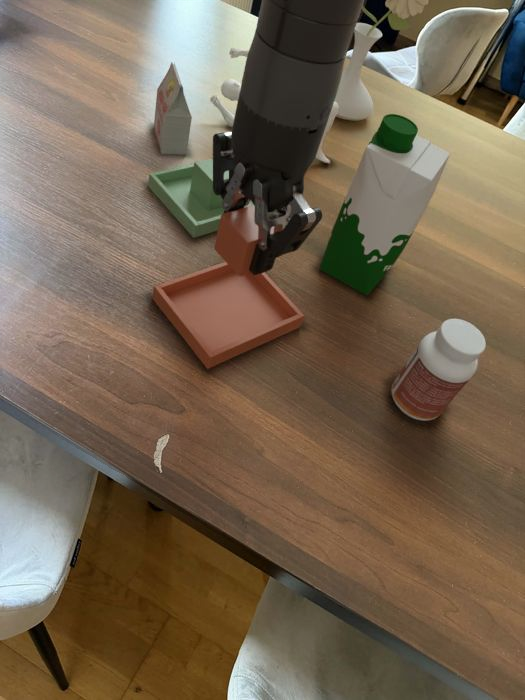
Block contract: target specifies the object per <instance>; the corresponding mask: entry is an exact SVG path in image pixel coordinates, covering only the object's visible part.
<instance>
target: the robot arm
mask: <svg viewBox="0 0 525 700" xmlns="http://www.w3.org/2000/svg"><path fill="white" fill-rule="evenodd" d="M364 2H365V0H261V4H260V8H259V12H258V18H257V23H256V27H255V30H254V35H253V38H252V41H251V44H250V47H249V49H248V50H249V52H248V56H247V57H246V60H245V65H244V70H243V73H242V79H241V82H240V83H241V88H240V93H239V98H238V101H237V104H236V108H235V114H234V116H235V118H234V123H233V127H231V130H228V131H223V132H219V133H218V132H217V133H214V134H213V136H212V158H213V191H214V193H215V194H216V195H217V196H218V195H221V197H222V199H223V201H222V207H223V209H224V213H227V212H231V211H234V210H238V209H241V208H244V207H245V206H247V205H248V204H249V202H250V201H252V203H253V204H254V206H255V216H254V222H255V224H256V225H258V244H256V247H255V250H254V254H253V257H252V261H251V264H250V268H249V271H250V272H251V273H252V274H253V275H257V274H261V273H264V272H265V273H266V272H270V271H271V270H272V269H273V268H274V265H275V262H276V260H277V259H276V258H280V257H282V256H284V255H286V254H290V253H293V252H296V251H298V250H299V249H300V248H301V246H302V245H303V243H305V241H306V240H307V238H309V236H310V235H311V233H312V232H313V231H314V230H315V228H316V227H317V226H318V225H319V223H320V222H321V220H323V212H322V209H321V208H319V207H317V206H316V207H312V208H311V206H310V205H309V203H308V202H307V200H306V198H305V197H304V196H303V195H304V192H305V185H304V183H305V181H304V180H305V175H306V174H307V171H309V168H310V167H311V166H312V165H313V163H314V161H315V160H316V159H315V157H316V154H317V151H318V148H319V145H320V142H321V139H322V136H323V133H324V130H325V127H326V124H327V121H328V119H329V116H330V113H331V110H332V107H333V104H334V101H335V98H336V95H337V92H338V88H339V85H340V81H341V76H342V73H343V72H344V71H343V70H344V65H345V62H346V57H347V53H348V51H349V48H350V45H351V42H352V39H353V36H354V34H355V33H354V30H355V27H356V24H357V23H358V20H359V18H360V15H361V13H362V6H364ZM228 170H229V180H225V181H224V173H225V172H226V171H228ZM273 211H274V212H273ZM267 212H273V213H270V214H267ZM224 213H223V214H224ZM273 226H274V233H273V234H270V230H271V228H272V227H273Z"/></svg>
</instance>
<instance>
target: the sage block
mask: <svg viewBox="0 0 525 700" xmlns="http://www.w3.org/2000/svg"><path fill="white" fill-rule="evenodd" d="M193 164H194V169H193V175H192V181H191V187H190V191H191V192H192V194H193V195H194V196H195V197H196V198H197V199H198V200H199V201H200V202H201V203H202V204H203V206H204V207H205V208H206V209H207V210H208V211H209V210H213V209H216V208H220V207H222V201H223V199H222V197H221V195H218V196H217V195H216V194H215V193H214V191H213V157H212V158H208V159H202V160H198V161H195V162H194V163H193ZM225 180H229V170H228V171H226V172H225V173H224V181H225Z"/></svg>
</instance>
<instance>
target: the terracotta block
mask: <svg viewBox="0 0 525 700" xmlns="http://www.w3.org/2000/svg"><path fill="white" fill-rule="evenodd" d="M254 216H255V206H254V205H252V206H248V207H245V208H241V209H238V210H234V211H231V212H227V213H224V214H222V215H221V219H220V223H219V228H218V231H217V232H216V238H215V242H214V246H213V249H214V250H215V252H216V253H217V254H218V255H219V256H220V257H221V259H222V260H223V261H224V262H226V263H227V264H228V265H229V266H230V267H231V268H232V269H233V271H234V272H235V273H236V274H237V275H238V276H242V275H245V274H248V273H250V271H249V268H250V264H251V261H252V257H253V254H254V250H255V247H256V244H258V225H256V224H255V222H254ZM273 233H274V226H273V227H272V228H271V230H270V234H273Z"/></svg>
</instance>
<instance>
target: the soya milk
mask: <svg viewBox="0 0 525 700" xmlns="http://www.w3.org/2000/svg"><path fill="white" fill-rule="evenodd" d="M418 131H419V128H418V126H417V124H416V123H415V122H414V121H412V120H411V119H409V118H407V117H405V116H403V115H400V114H397V113H396V114H395V113H389V114H385V115H383V117H382V119H381V122H380V124H379V126H378V128H377V131H375V133H374V134H373V136H372V138H371V140H370V141H369V142H368V143H367V144H368V145H367V146H366V147H365V149H364V151H363V154H362V156H361V159H360V161H359V163H358V166H357V168H356V171H355V173H354V176H353V177H352V180H351V183H350V185H349V187H348V190H347V193H346V195H345V197H344V199H343V202H342V205H341V207H340V209H339V212H338V214H337V216H336V219H335V222H334V224H333V226H332V229H331V232H330V235H329V239H328V242H327V245H326V248H325V250H324V254H323V257H322V260H321V264H320V267H319V271H321V272H324V273H325V274H327V275H329V276H331V277H332V278H334V279H336V280H338V281H339V282H341V283H343V284H345V285H346V286H347V285H348V286H349V287H350V288H352V289H354V290H356V291H357V292H359V293H362V294H363V295H365V296H366V297H368V296H369V295H370V293H372V291H373V290H374V289H375V287H376V286H377V285H378V284H379V283H380V282H381V281H382V279H383V278H384V277H385V275H386V274H388V272H389V271H390V270H391V268H392V267H394V264H395V263H396V261H397V260H398V259H399V257H400V256H401V254H402V253H403V252H404V250H405V248H406V246H407V244H408V243H409V241H410V239H411V237H412V235H413V234H414V232H415V230H416V228H417V227H418V225H419V222H420V221H421V219H422V217H423V216H424V214H425V212H426V210H427V209H428V206H429V204H430V202H431V200H432V198H433V196H434V194H435V192H436V189H437V187H438V184H439V182H440V180H441V177H442V175H443V172H444V170H445V167H446V165H447V162H448V161H449V158H450V156H451V152H449V151H447V150H445V149H443V148H441V147H439V146H437V145H435V144H433V143H432V142H431V141H430V140H428V139H426V138H424V137H421V136H419V135H418Z"/></svg>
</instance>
